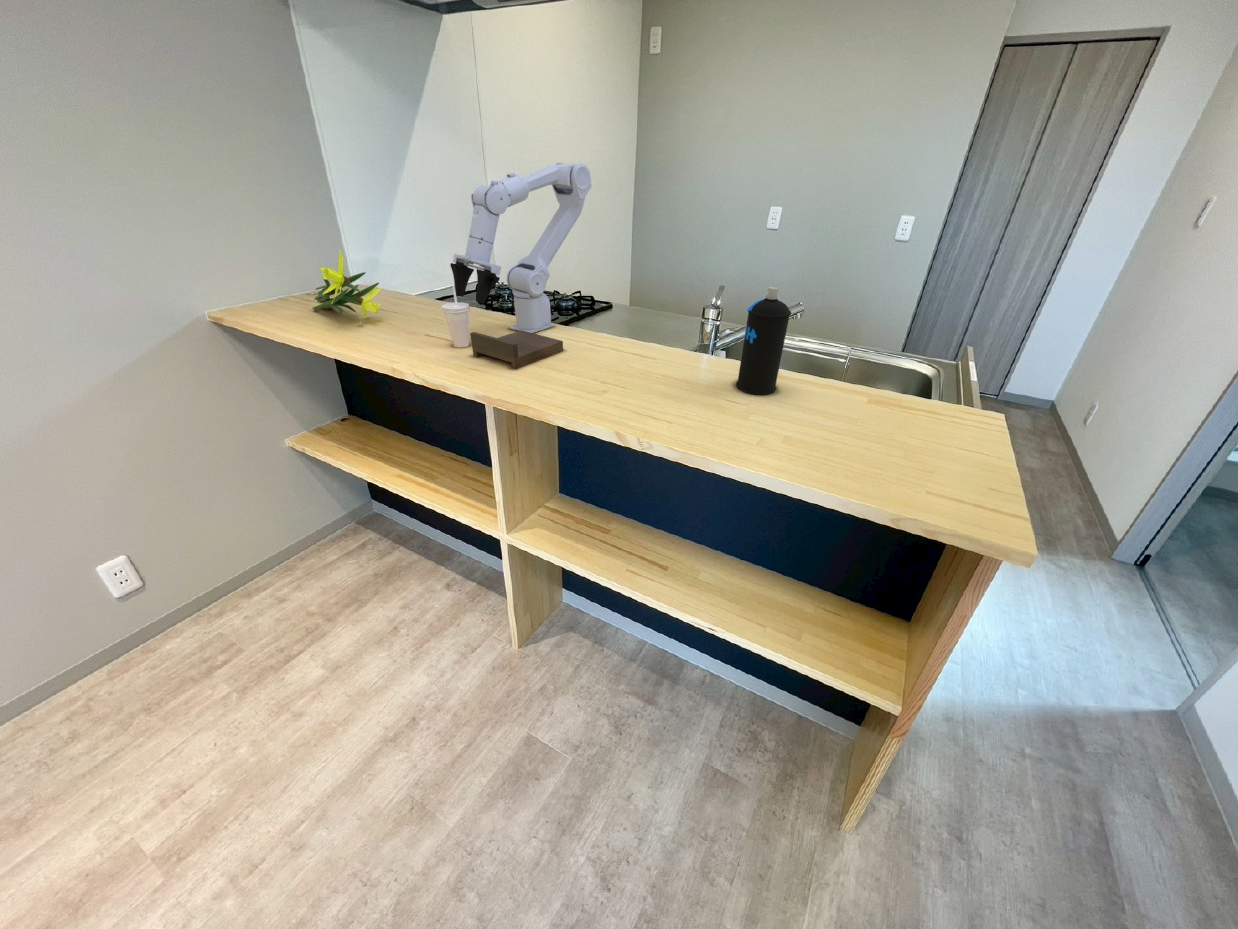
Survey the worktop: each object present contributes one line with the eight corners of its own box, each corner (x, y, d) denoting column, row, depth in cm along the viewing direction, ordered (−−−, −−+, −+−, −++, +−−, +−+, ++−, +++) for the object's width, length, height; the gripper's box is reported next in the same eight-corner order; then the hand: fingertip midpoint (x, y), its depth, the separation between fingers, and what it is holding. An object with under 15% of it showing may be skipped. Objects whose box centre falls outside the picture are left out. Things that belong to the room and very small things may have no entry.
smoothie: (478, 341, 124) (470, 284, 117) (469, 349, 119) (460, 290, 112) (454, 340, 125) (444, 283, 117) (443, 348, 119) (433, 288, 112)
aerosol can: (777, 383, 105) (797, 285, 94) (774, 397, 98) (795, 294, 87) (738, 377, 107) (753, 281, 96) (733, 391, 100) (748, 290, 90)
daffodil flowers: (362, 305, 156) (407, 292, 132) (330, 338, 151) (372, 331, 127) (314, 260, 146) (354, 237, 121) (278, 294, 141) (313, 277, 116)
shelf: (522, 339, 126) (520, 318, 124) (563, 350, 120) (562, 328, 117) (473, 356, 115) (470, 332, 112) (515, 369, 109) (513, 345, 106)
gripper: (447, 230, 116) (436, 289, 119) (489, 240, 109) (476, 302, 112) (470, 240, 122) (459, 295, 125) (511, 249, 115) (499, 308, 118)
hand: (469, 299), depth 119 cm, fingers open, 7 cm apart
